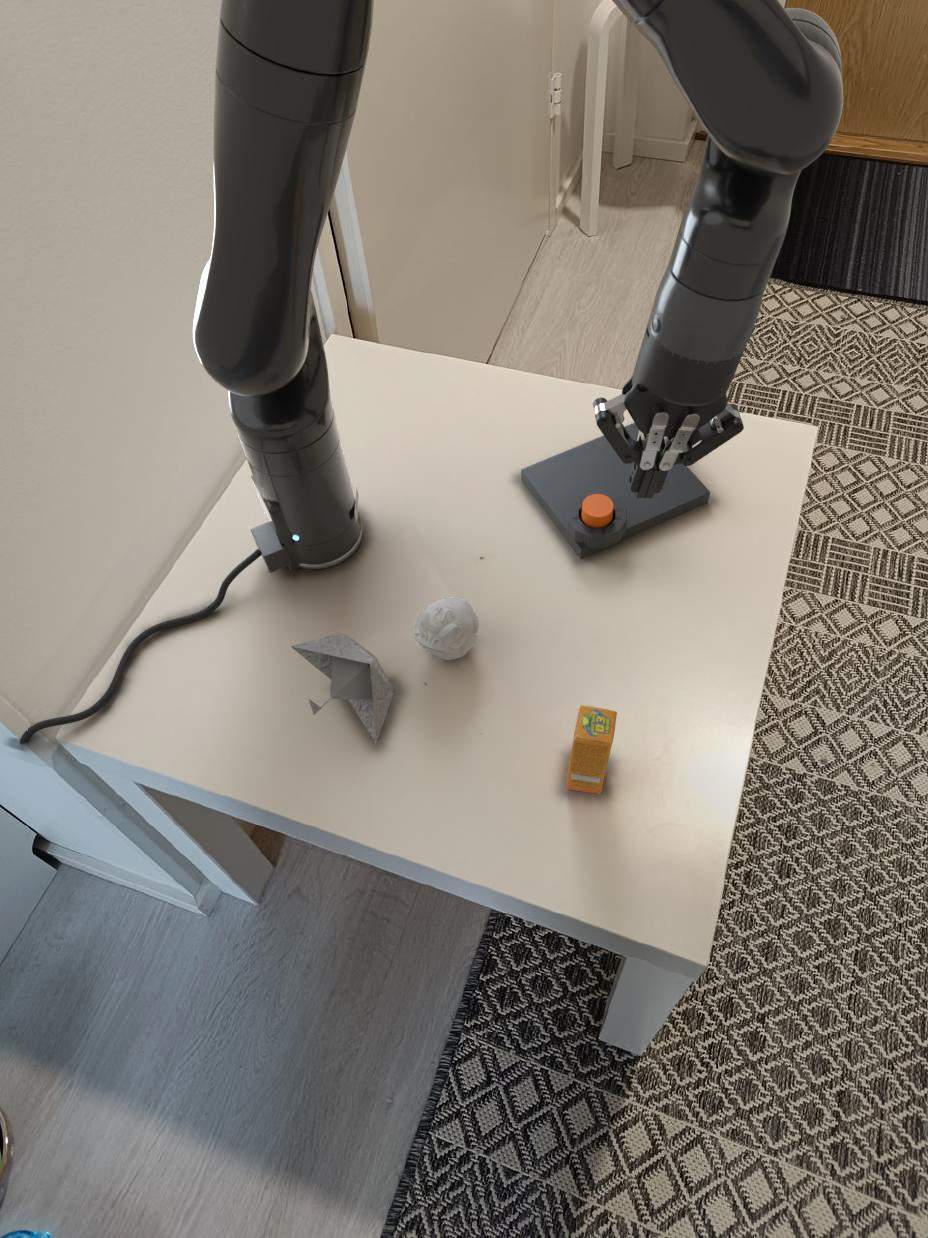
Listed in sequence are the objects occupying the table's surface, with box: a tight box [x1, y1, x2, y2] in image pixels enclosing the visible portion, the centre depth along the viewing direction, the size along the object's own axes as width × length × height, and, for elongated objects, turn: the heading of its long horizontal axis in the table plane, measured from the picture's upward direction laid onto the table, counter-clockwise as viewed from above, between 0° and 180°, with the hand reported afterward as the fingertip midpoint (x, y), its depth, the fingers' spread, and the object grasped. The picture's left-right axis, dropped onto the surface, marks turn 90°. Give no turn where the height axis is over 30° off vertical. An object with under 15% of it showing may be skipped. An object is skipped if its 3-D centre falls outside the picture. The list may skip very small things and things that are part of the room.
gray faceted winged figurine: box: [289, 632, 395, 744], centre depth 84 cm, size 12×6×9 cm
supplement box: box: [565, 704, 618, 795], centre depth 77 cm, size 3×3×10 cm
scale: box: [520, 422, 711, 560], centre depth 98 cm, size 16×14×4 cm
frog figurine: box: [413, 596, 480, 661], centre depth 86 cm, size 6×7×7 cm
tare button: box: [581, 494, 614, 528], centre depth 93 cm, size 3×3×2 cm
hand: (641, 491), depth 81 cm, fingers closed
